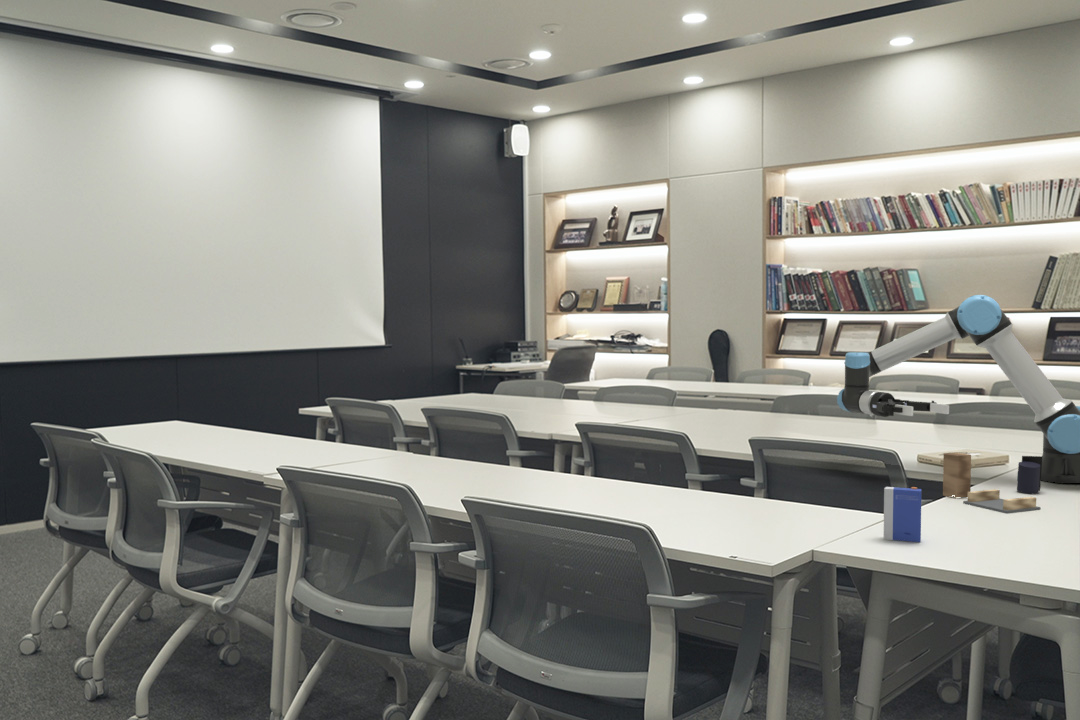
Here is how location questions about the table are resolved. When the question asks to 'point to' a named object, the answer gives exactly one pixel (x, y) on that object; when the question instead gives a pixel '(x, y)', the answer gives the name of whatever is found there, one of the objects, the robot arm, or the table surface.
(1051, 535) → the table surface
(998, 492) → the end caps
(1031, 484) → the speaker
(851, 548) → the table surface
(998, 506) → the mat
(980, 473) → the table surface
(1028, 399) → the robot arm
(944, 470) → the brown wooden block
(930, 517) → the table surface
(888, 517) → the walkman
